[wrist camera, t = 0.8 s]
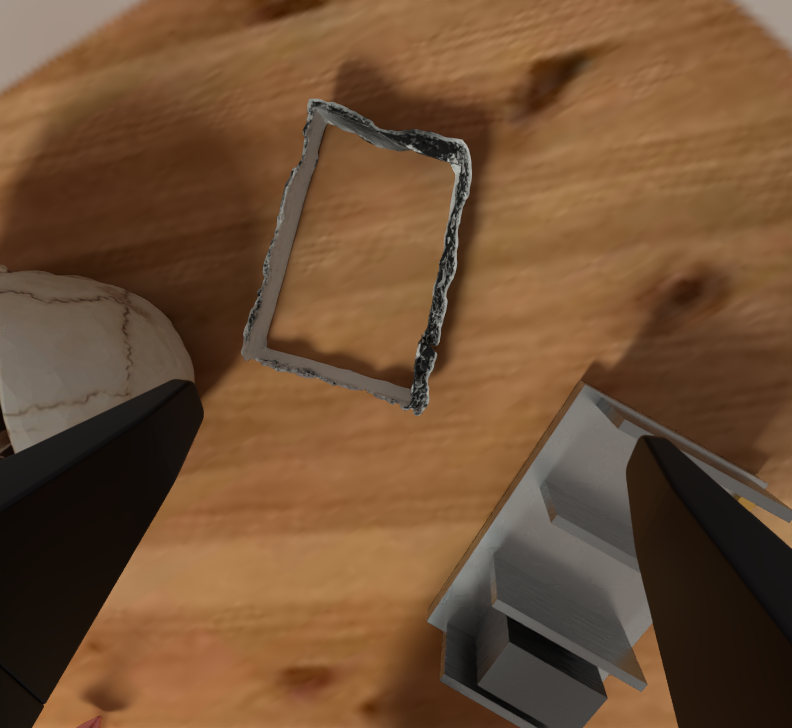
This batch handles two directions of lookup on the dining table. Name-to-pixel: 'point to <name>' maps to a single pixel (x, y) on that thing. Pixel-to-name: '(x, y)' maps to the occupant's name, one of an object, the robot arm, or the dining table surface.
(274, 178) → the dining table surface
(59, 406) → the coin bank
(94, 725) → the figurine
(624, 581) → the rack
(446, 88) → the dining table surface
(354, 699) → the dining table surface
